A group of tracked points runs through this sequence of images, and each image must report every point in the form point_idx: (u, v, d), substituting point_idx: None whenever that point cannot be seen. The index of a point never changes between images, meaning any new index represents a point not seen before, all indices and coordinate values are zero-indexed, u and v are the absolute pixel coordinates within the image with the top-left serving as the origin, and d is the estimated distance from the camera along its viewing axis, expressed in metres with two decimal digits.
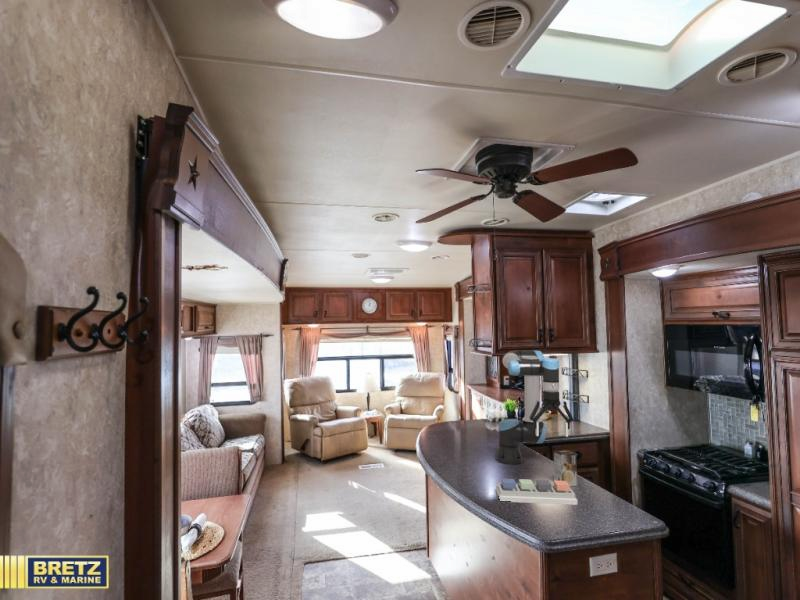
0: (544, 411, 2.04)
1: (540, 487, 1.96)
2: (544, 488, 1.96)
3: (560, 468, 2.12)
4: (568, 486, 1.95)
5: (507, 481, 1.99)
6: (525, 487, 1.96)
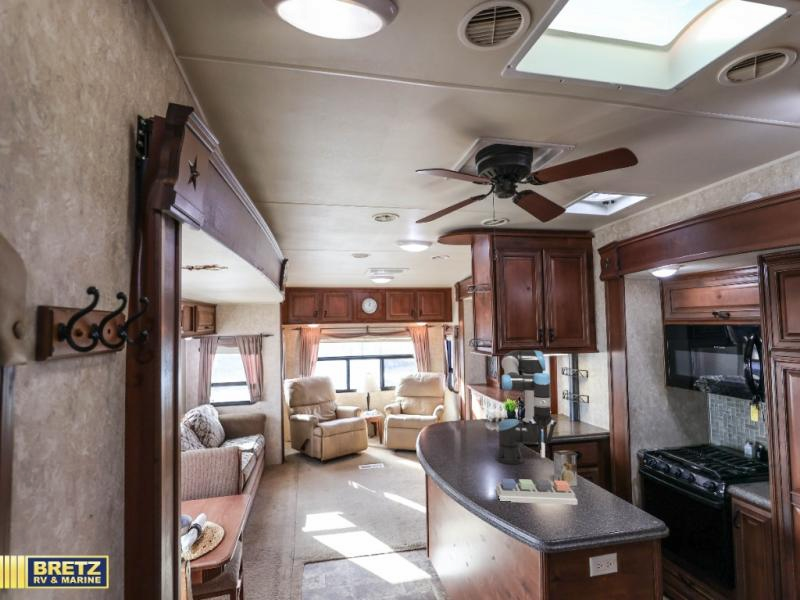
0: (540, 428, 2.02)
1: (540, 487, 1.96)
2: (544, 488, 1.96)
3: (560, 468, 2.12)
4: (568, 486, 1.95)
5: (507, 481, 1.99)
6: (525, 487, 1.96)
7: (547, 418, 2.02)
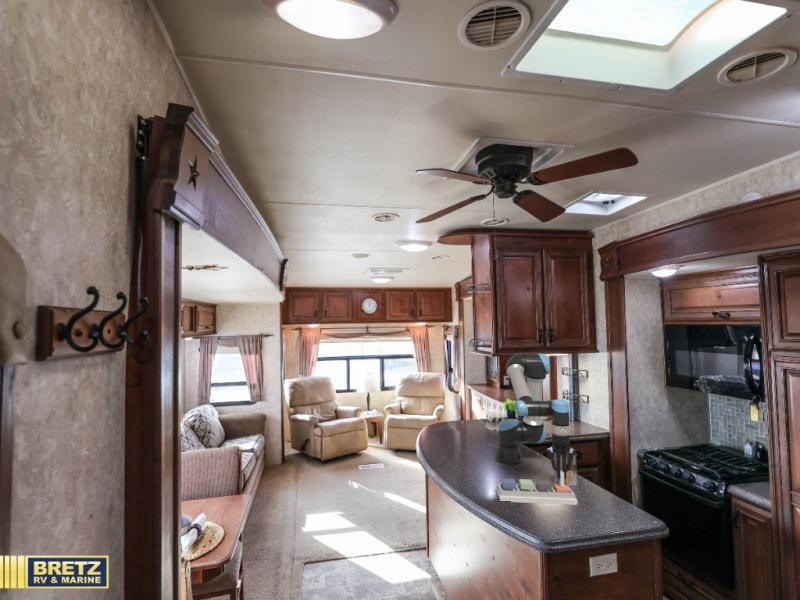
0: (559, 457, 1.97)
1: (540, 487, 1.96)
2: (544, 488, 1.96)
3: None
4: (568, 490, 1.95)
5: (507, 481, 1.99)
6: (525, 487, 1.96)
7: (566, 446, 1.97)
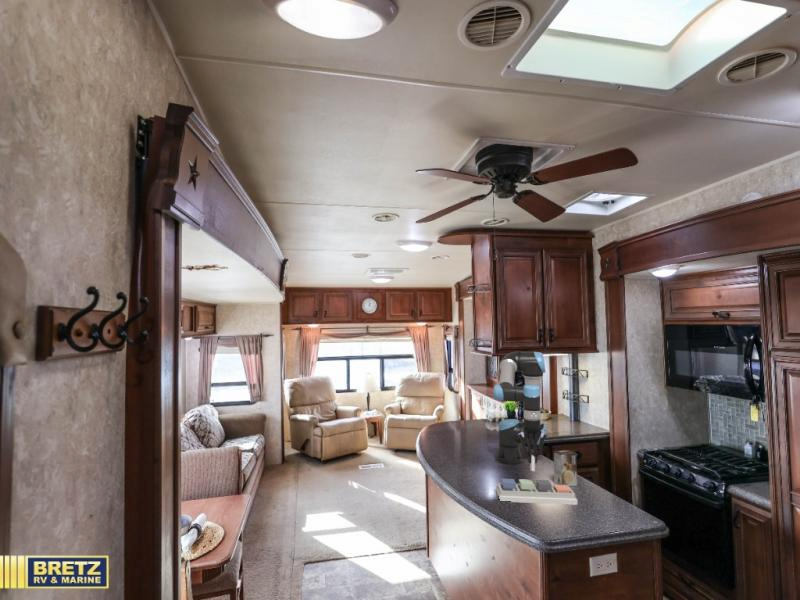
0: (530, 441, 1.99)
1: (540, 487, 1.96)
2: (544, 488, 1.96)
3: (560, 468, 2.12)
4: (568, 490, 1.95)
5: (507, 481, 1.99)
6: (525, 487, 1.96)
7: (537, 431, 1.99)
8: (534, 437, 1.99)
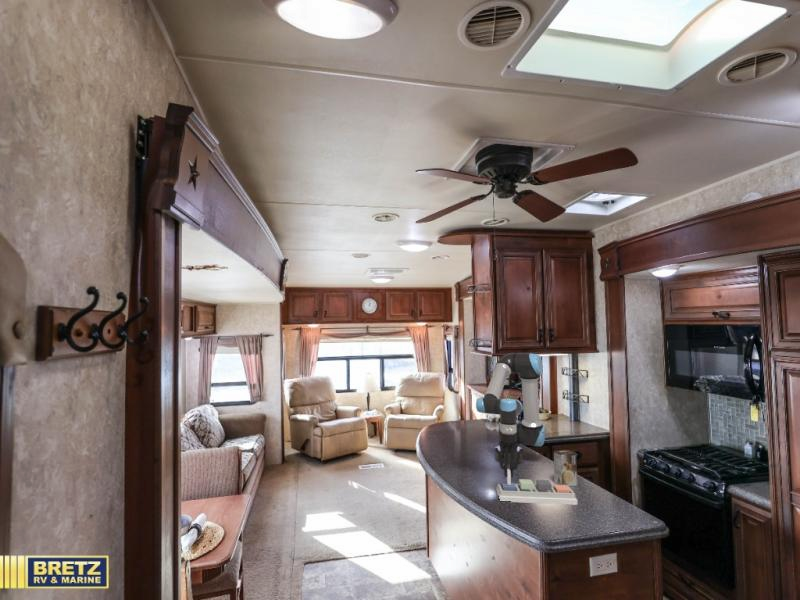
0: (507, 455, 1.99)
1: (540, 487, 1.96)
2: (544, 488, 1.96)
3: (560, 468, 2.12)
4: (568, 490, 1.95)
5: (507, 485, 1.99)
6: (525, 487, 1.96)
7: (513, 445, 1.99)
8: (510, 451, 1.99)
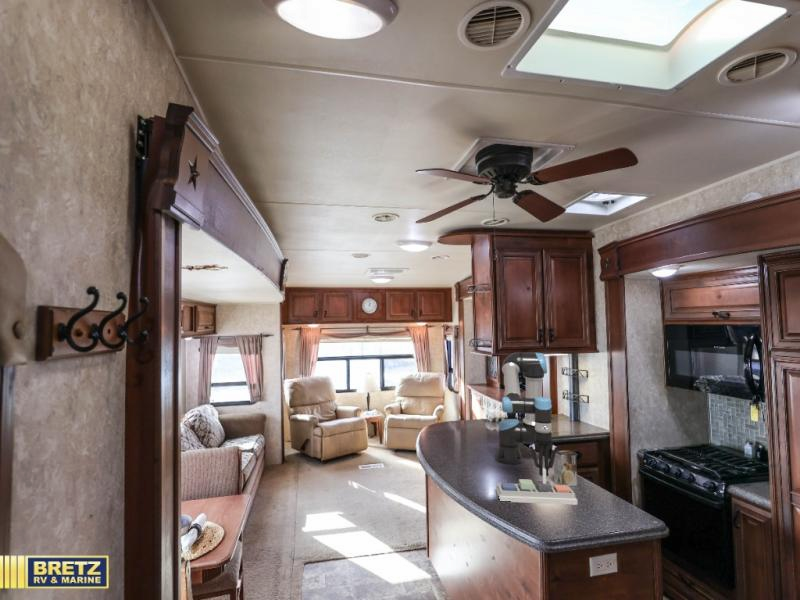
0: (542, 454, 1.98)
1: (540, 488, 1.96)
2: (544, 489, 1.96)
3: (560, 468, 2.12)
4: (568, 490, 1.95)
5: (507, 485, 1.99)
6: (525, 487, 1.96)
7: (548, 443, 1.98)
8: (545, 450, 1.98)
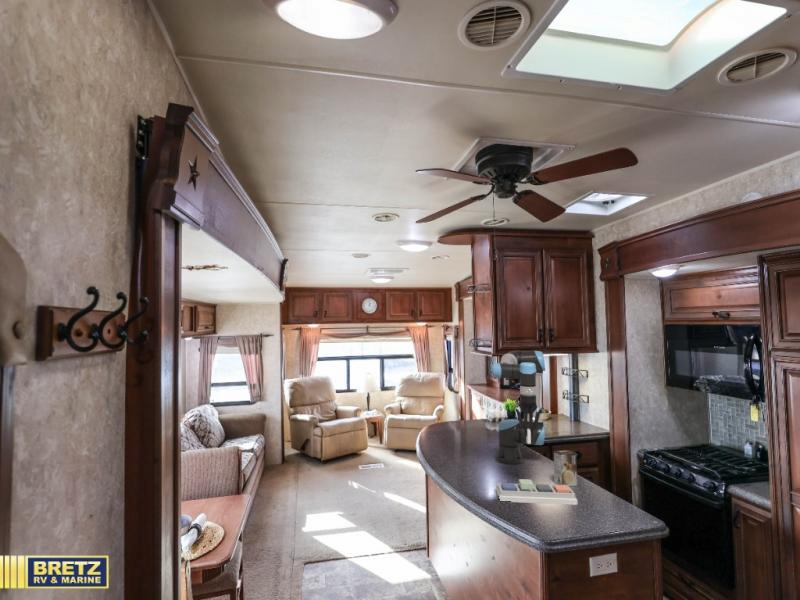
0: (526, 416, 2.08)
1: (540, 491, 1.96)
2: None
3: (560, 468, 2.12)
4: (568, 490, 1.95)
5: (507, 485, 1.99)
6: (525, 487, 1.96)
7: (533, 406, 2.08)
8: (530, 412, 2.08)
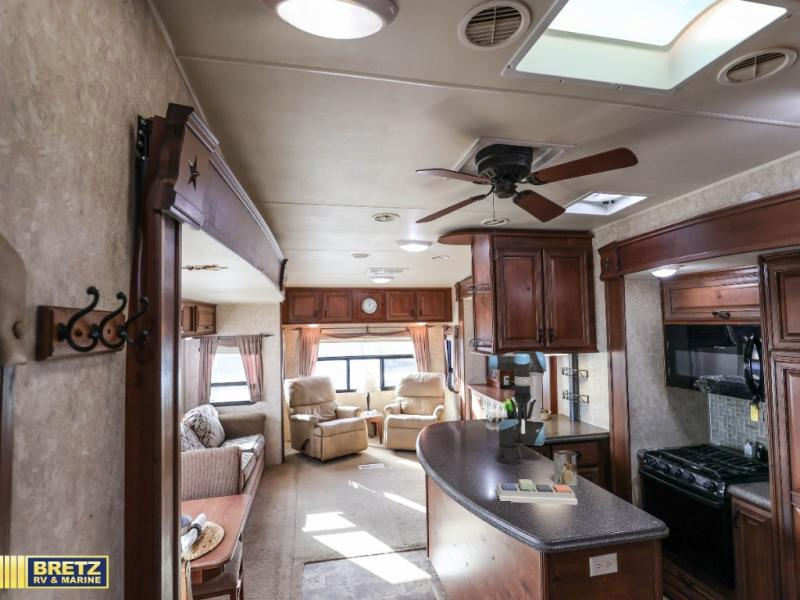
0: (521, 406, 2.12)
1: (540, 491, 1.96)
2: None
3: (560, 468, 2.12)
4: (568, 490, 1.95)
5: (507, 485, 1.99)
6: (525, 487, 1.96)
7: (527, 396, 2.12)
8: (524, 402, 2.11)
